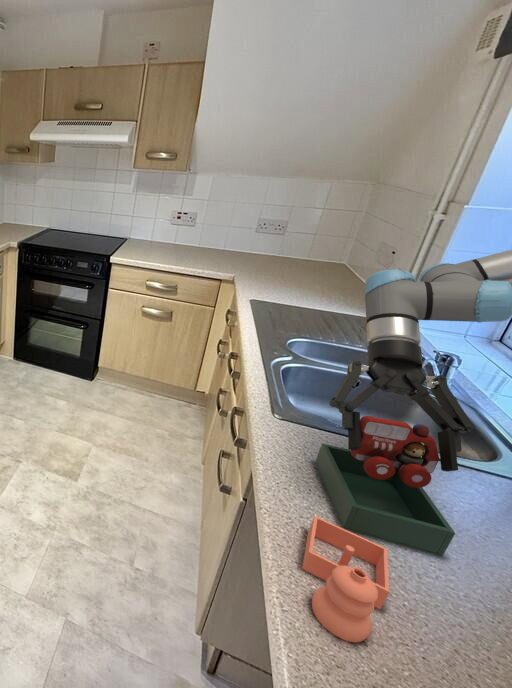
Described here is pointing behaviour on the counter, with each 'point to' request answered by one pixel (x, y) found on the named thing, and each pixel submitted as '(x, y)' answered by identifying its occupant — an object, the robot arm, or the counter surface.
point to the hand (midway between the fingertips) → (400, 459)
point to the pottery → (346, 581)
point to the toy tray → (381, 504)
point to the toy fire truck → (397, 450)
